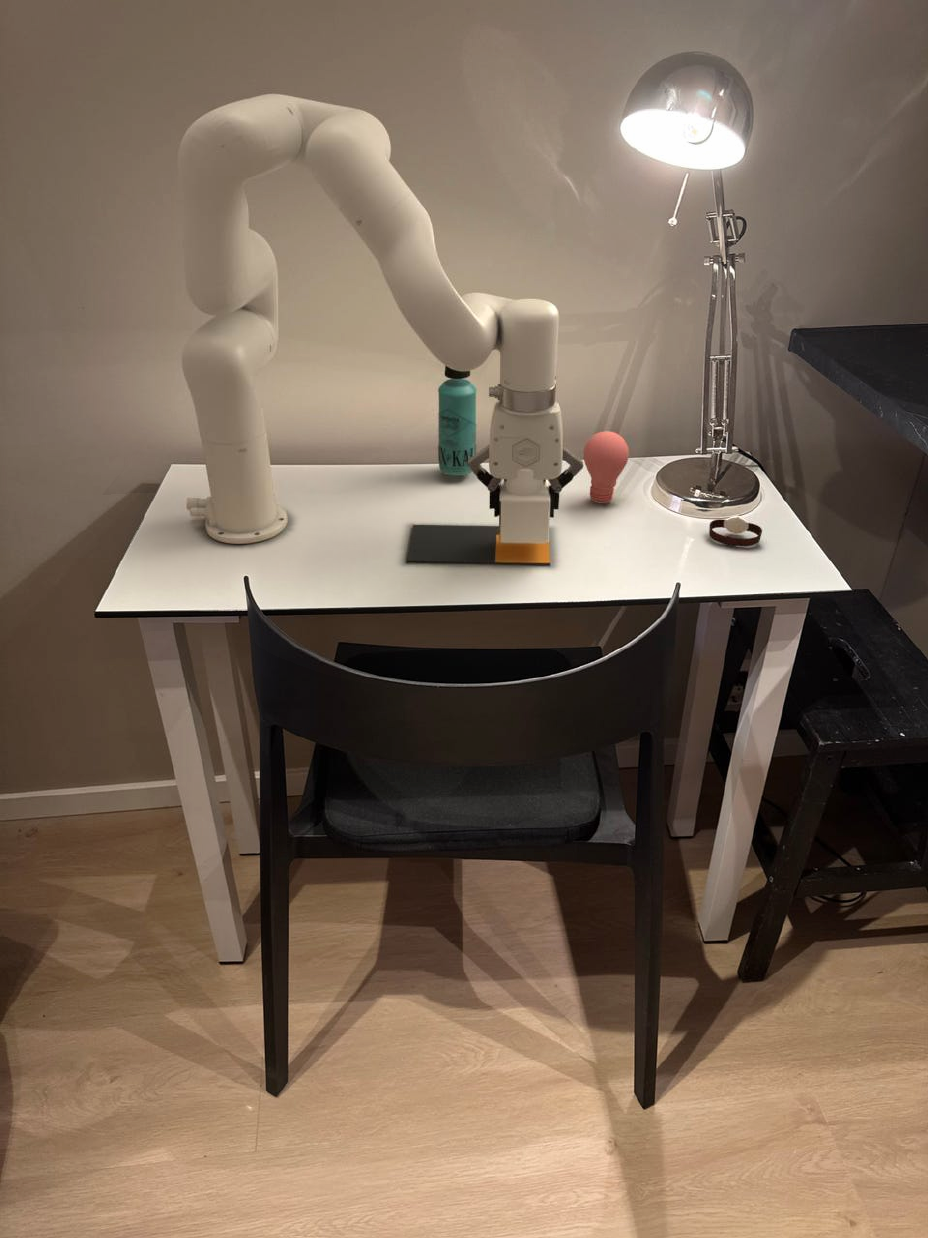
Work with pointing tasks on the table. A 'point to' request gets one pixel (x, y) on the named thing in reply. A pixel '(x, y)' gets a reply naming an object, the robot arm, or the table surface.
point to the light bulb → (605, 463)
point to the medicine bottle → (524, 509)
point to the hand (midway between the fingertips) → (523, 512)
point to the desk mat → (471, 547)
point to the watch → (735, 531)
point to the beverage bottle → (456, 423)
